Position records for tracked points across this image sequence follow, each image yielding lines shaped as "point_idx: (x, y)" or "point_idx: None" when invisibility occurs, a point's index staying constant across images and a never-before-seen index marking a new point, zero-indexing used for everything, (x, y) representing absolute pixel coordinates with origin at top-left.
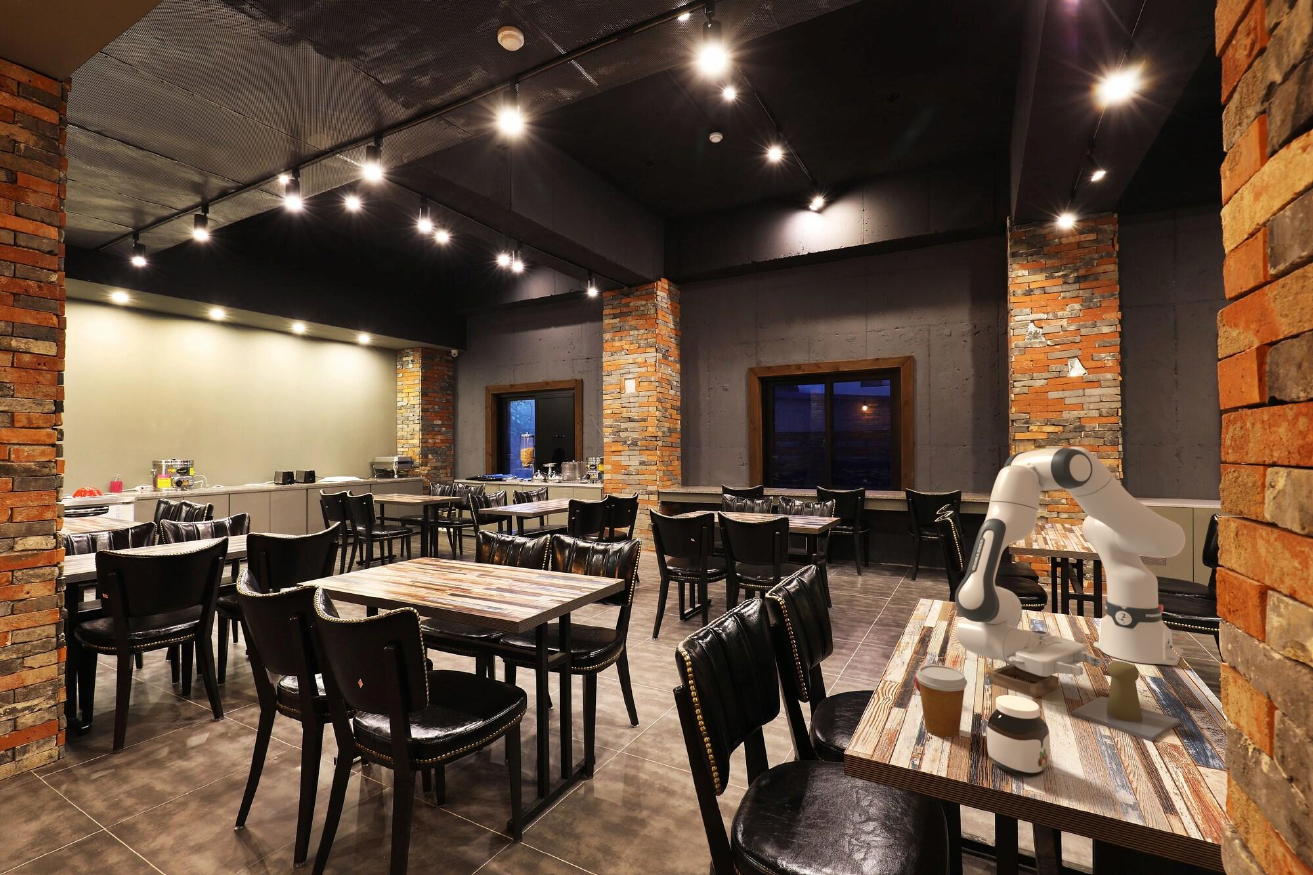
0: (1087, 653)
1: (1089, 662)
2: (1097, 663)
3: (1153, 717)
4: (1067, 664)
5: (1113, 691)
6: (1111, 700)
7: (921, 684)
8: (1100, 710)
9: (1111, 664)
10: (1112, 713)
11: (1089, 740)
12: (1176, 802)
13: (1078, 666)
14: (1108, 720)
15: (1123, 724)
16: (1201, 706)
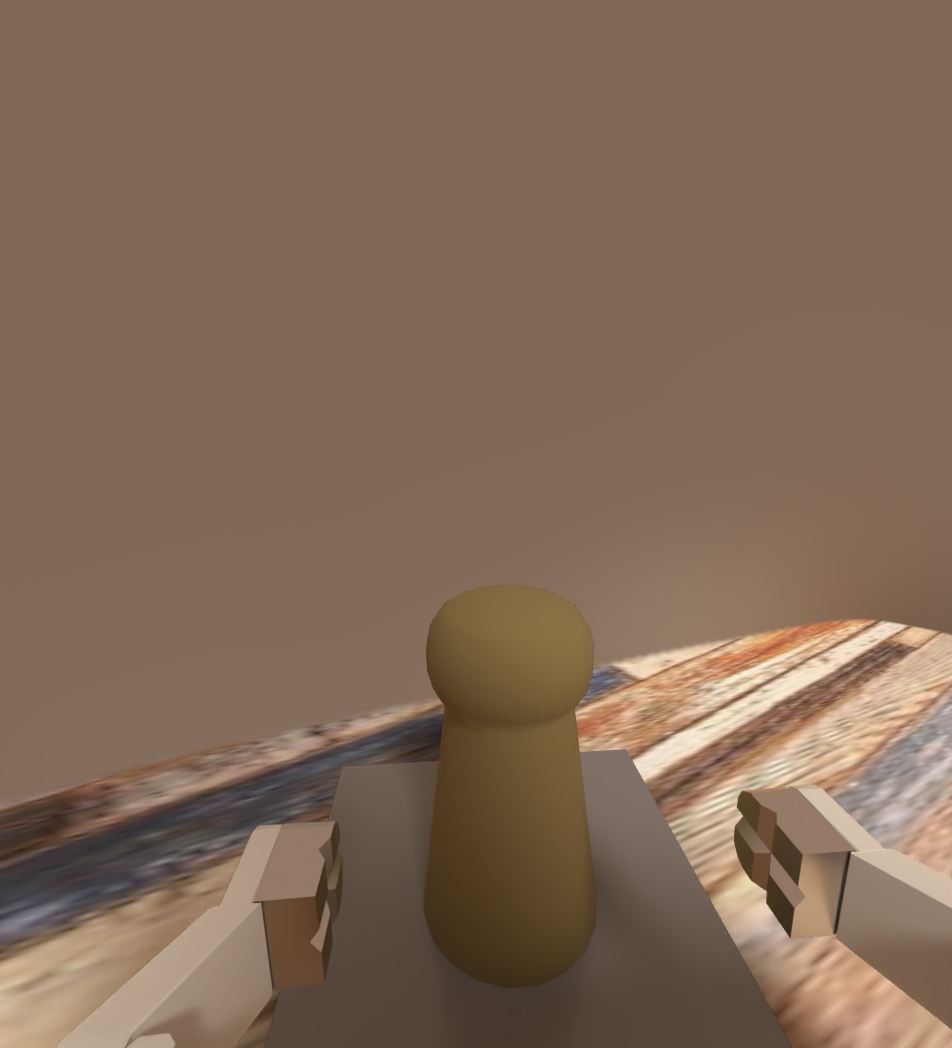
0: (128, 1007)
1: (229, 1038)
2: (332, 873)
3: (408, 814)
4: (918, 883)
5: (579, 784)
6: (584, 847)
7: None
8: (580, 1013)
9: (569, 629)
10: (594, 900)
11: None
12: (853, 651)
13: (783, 805)
14: (671, 899)
15: (630, 841)
16: (30, 807)
